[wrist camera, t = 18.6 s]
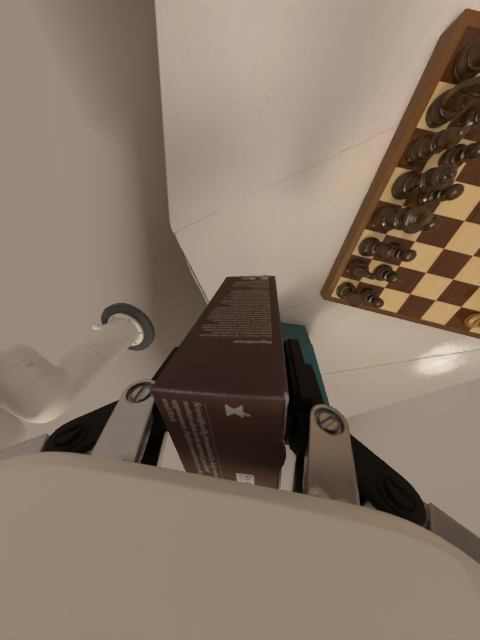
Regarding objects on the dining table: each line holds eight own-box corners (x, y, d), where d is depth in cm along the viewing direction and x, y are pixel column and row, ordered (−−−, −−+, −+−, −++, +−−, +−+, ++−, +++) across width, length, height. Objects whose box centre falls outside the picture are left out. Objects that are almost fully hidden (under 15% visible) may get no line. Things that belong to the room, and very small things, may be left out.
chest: (293, 365, 57) (297, 387, 50) (257, 359, 58) (255, 380, 51) (304, 326, 50) (311, 344, 43) (263, 320, 51) (262, 338, 44)
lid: (328, 410, 30) (340, 392, 27) (258, 398, 31) (262, 380, 28) (311, 347, 42) (317, 330, 40) (262, 340, 43) (264, 323, 41)
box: (222, 276, 16) (140, 388, 5) (275, 274, 15) (307, 396, 5) (228, 335, 18) (184, 485, 8) (273, 335, 18) (290, 497, 7)
